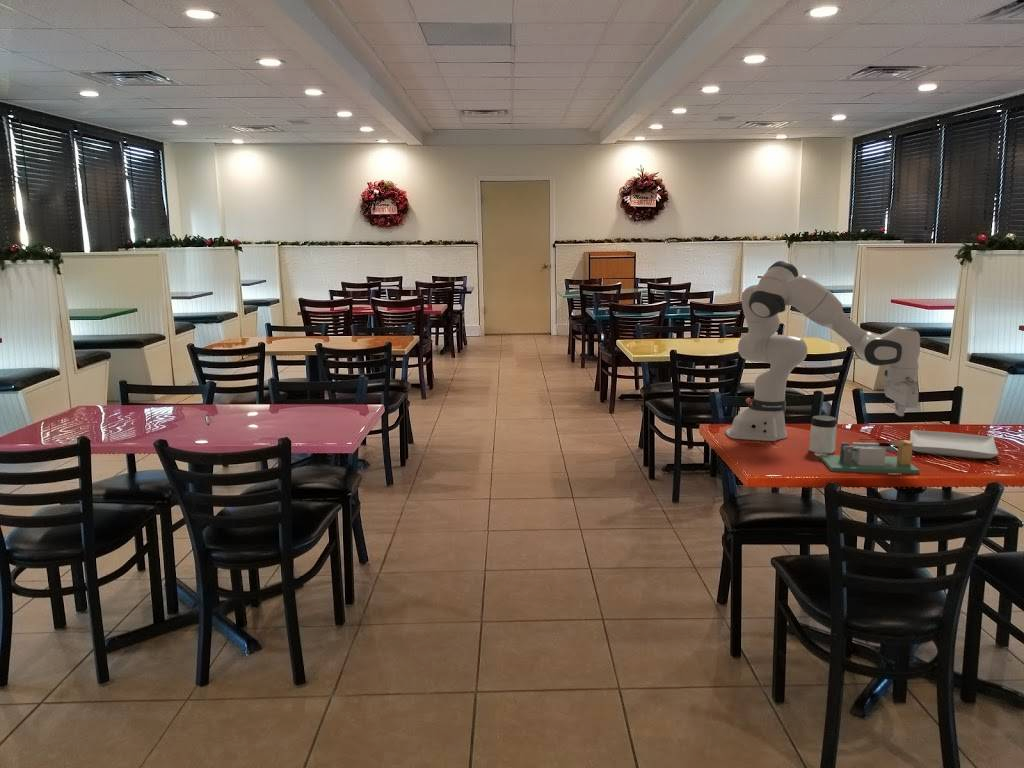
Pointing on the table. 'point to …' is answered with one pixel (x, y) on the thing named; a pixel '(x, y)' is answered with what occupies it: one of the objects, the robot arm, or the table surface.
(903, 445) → the tan wooden block
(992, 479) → the table surface
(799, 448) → the table surface
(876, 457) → the board
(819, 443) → the jar
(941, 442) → the square plate
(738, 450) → the table surface
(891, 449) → the dark grey flat bar
